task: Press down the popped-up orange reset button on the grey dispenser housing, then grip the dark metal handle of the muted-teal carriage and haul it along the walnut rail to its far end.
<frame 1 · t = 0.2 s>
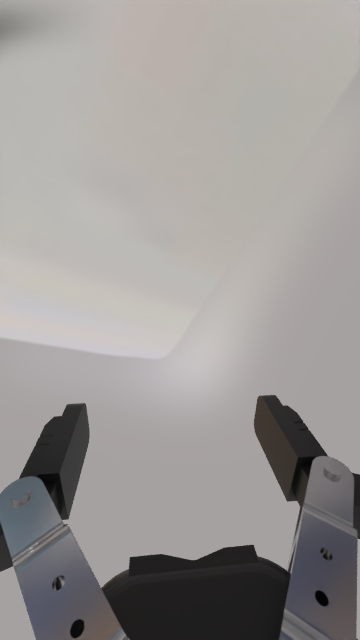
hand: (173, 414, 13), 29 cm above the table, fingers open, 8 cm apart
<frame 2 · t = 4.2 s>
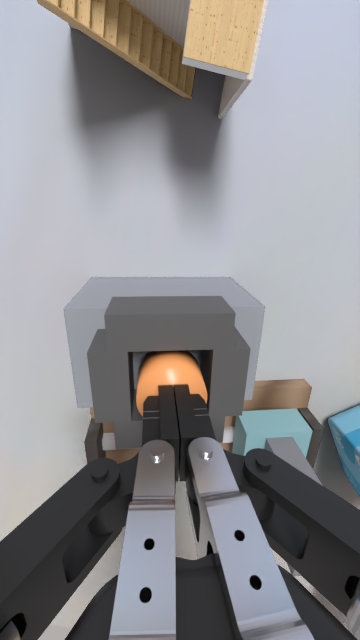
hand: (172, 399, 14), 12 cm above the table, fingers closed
grey dispenser housing: (162, 315, 25), on the table
carriage: (284, 482, 24), point 8 cm above the table, slide at 0.0 cm
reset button: (170, 385, 15), point 11 cm above the table, slide at 0.5 cm, touching gripper
data package: (351, 438, 34), on the table
model: (151, 77, 19), on the table
rail base: (199, 421, 30), on the table
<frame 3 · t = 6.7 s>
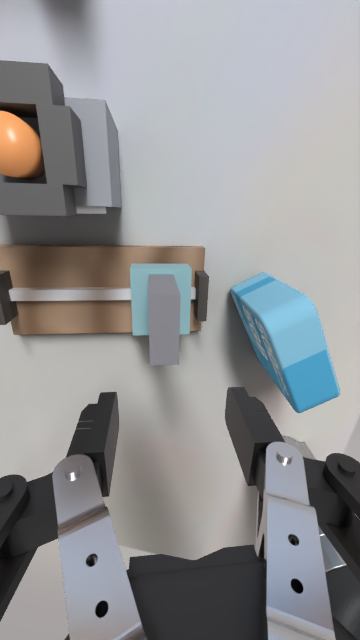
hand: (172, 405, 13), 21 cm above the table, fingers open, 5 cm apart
grey dispenser housing: (58, 168, 28), on the table
carriage: (162, 310, 26), point 8 cm above the table, slide at 0.0 cm
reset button: (14, 148, 19), point 10 cm above the table, slide at 1.7 cm
data package: (258, 317, 36), on the table
rail base: (108, 288, 33), on the table
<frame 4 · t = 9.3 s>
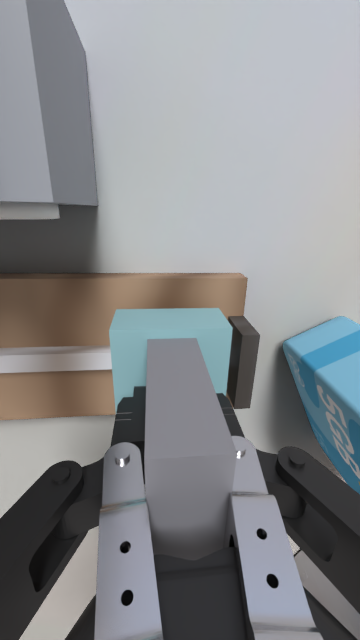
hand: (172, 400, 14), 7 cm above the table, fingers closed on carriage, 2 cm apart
carriage: (174, 415, 13), point 8 cm above the table, slide at 0.0 cm, touching gripper
data package: (322, 379, 23), on the table
rail base: (80, 344, 19), on the table
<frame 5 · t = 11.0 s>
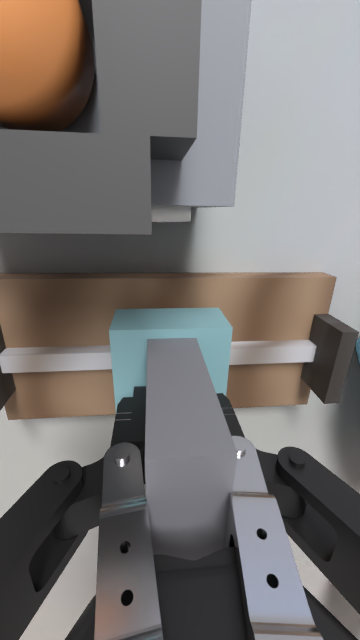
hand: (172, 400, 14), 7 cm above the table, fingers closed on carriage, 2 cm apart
grey dispenser housing: (89, 135, 15), on the table
carriage: (174, 415, 13), point 8 cm above the table, slide at 5.9 cm, touching gripper
rail base: (164, 341, 20), on the table
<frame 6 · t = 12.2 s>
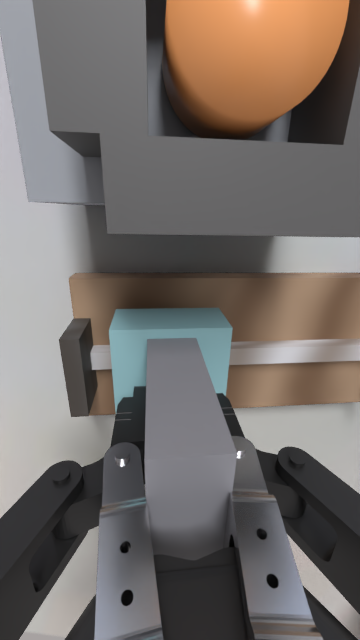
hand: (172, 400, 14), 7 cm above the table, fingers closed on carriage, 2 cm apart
grey dispenser housing: (188, 139, 15), on the table
carriage: (174, 415, 13), point 8 cm above the table, slide at 11.2 cm, touching gripper
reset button: (241, 43, 6), point 10 cm above the table, slide at 1.7 cm
rail base: (236, 339, 20), on the table
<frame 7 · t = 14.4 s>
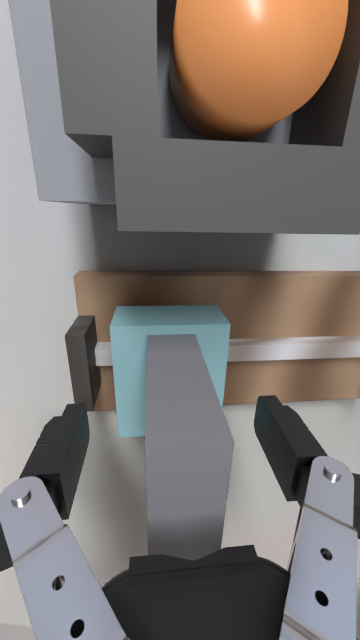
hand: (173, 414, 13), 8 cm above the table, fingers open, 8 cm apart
grey dispenser housing: (191, 140, 16), on the table
carriage: (173, 409, 13), point 8 cm above the table, slide at 11.4 cm
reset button: (245, 49, 7), point 10 cm above the table, slide at 1.7 cm
rail base: (237, 337, 21), on the table
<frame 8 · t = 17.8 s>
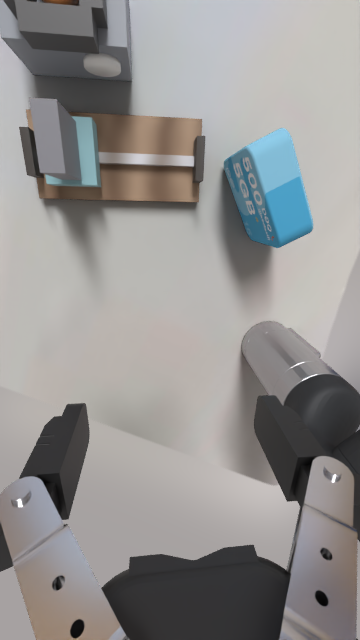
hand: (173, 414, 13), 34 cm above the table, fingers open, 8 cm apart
grey dispenser housing: (80, 41, 33), on the table
carriage: (63, 148, 31), point 8 cm above the table, slide at 11.4 cm
data package: (249, 196, 42), on the table
rail base: (120, 161, 38), on the table
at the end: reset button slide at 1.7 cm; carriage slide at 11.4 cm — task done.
